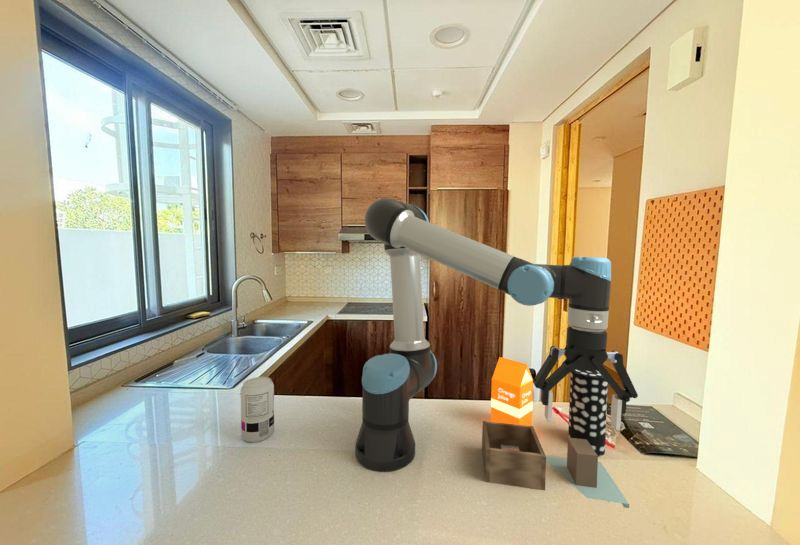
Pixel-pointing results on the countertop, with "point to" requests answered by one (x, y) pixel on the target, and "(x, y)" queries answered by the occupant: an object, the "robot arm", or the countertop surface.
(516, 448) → the metal cube
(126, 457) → the countertop surface
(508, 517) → the countertop surface
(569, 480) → the lid
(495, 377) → the orange juice
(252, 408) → the supplement can
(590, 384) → the white-spotted black cylinder
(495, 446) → the storage box
